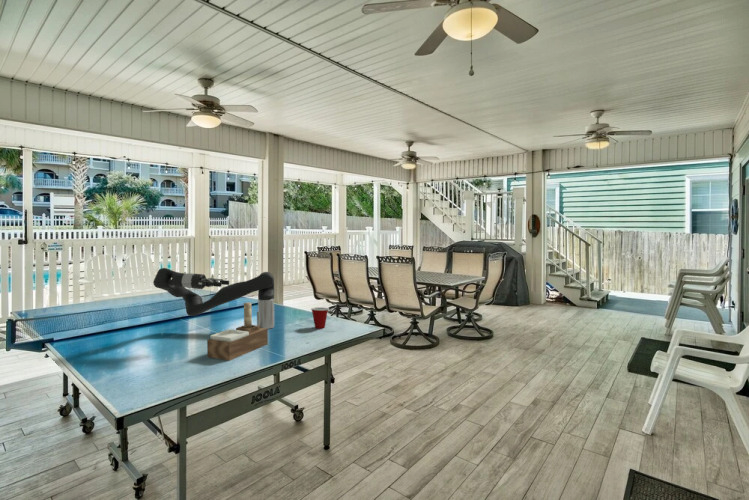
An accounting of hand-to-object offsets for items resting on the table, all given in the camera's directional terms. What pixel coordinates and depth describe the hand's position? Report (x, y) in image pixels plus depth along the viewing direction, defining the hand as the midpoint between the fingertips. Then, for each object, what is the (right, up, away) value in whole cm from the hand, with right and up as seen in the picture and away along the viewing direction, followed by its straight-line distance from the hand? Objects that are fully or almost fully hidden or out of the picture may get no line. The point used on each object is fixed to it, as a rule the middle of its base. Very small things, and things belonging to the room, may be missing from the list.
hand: (225, 283), depth 194 cm
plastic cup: (+42, -30, +38) cm, 64 cm away
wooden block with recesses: (+9, -32, -6) cm, 34 cm away
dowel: (+12, -24, 0) cm, 26 cm away
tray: (+7, -24, -12) cm, 28 cm away
